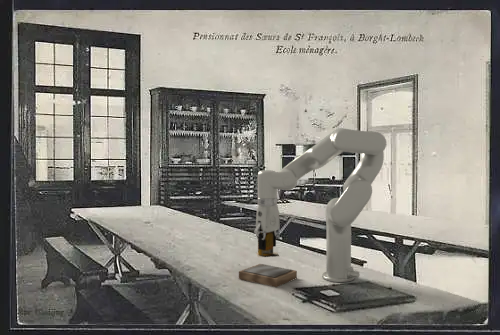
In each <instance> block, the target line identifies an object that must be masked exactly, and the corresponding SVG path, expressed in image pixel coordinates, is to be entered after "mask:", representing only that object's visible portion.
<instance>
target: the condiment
mask: <svg viewBox="0 0 500 335" xmlns="http://www.w3.org/2000/svg"><path fill="white" fill-rule="evenodd" d="M261 231H263V230H261ZM261 235H262V236H263V233H261ZM264 240H266V250H261V249H258V248H257V252H256V255H257V257H258V258H271V257H280V254H279V252H278V251H274V247H273V231H272V232H269V233H266V235H265V239H264Z"/></svg>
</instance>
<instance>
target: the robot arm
mask: <svg viewBox="0 0 500 335" xmlns="http://www.w3.org/2000/svg"><path fill="white" fill-rule="evenodd" d="M386 147H387V139H386V137H385V136H384V134H382V133H380V132H379V131H372V130H371V131H370V130H369V131H367V130H357V129H356V130H355V129H350V128H344V127H341V128H340V127H339V128H336V129H334V130H333V131H332V132H330V133H329V134H328V135H326V136H325V137H323V138H322V139H321V140H320V141H319V142H317V143H315V144H314V145H313V146H311V147H310V148H309V149H307V150H306V151H304V152H303V153H302V154H301V155H299V156H298V157H296V158H295V159H293V160H292V161H290V162H289V163H288V164H287V165H285V166H284V167H282V168H281V169H280V170H279V171H275V170H270V169H269V170H267V169H263V170H259V171H258V173H257V208H256V214H255V215H256V217H255V229H254V230H253V232H254V234H255V237H256V238H257V250H258V249H261V250H266V240H264V239H265V235H266V233H269V232H272V231H273V248H275V247H277V236H278V231H279V229H280V226H281V225H280V211H279V206H278V190H281V191H282V190H283V191H291V190H294V188H296V186H297V184H298V180H301V178H302V177H304V176H305V175H307V174H309V173H310V172H312V171H314V170H319V169H321V168H323V167H325V166H326V165H327V164H329V162H331V161H332V160H333V159H335V158H336V157H337V156H339V155H340V154H342V153H344V152H345V153H352V154H353V153H354V154H361V156H360V160H359V162H358V163H357V165H356V166H355V168H354V169H353V170H352V172H351V173H350V174H349V176H348V177H347V179H346V180H345V181H344V183H343V185H342V190H343V192H342V194H341V195H340V197H334V198H331V200H329V201H328V202H327V204H326V206H325V207H326V208H325V222H326V225H325V226H326V227H325V228H326V229H325V230H326V239H325V240H326V244H325V246H326V252H325V253H326V258H325V259H326V262H325V263H326V265H325V266H326V267H325V268H326V270H325V272H322V278H323V279H324V280H326V281H329V282H333V283H346V282H352V281H354V280H355V279H356V278H357V279H358V278H360V271H357V270H354V267H353V266H352V224H353V222H355V220H356V219H357V218H358V216H359V215H360V214H361V212H362V211H363V210H364V208H365V207H366V205H367V204H368V202H369V201H370V200H371V198H372V193H373V186H372V184H373V182H374V181H376V180H375V179H376V178H377V176H378V175H379V173H380V171H381V170H382V167H383V165H384V160H385V159H384V157H385V156H384V155H385V154H384V151H385V150H386ZM261 230H263V231H261ZM261 233H263V236H262V235H261Z"/></svg>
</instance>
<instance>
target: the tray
mask: <svg viewBox="0 0 500 335" xmlns="http://www.w3.org/2000/svg"><path fill="white" fill-rule="evenodd" d="M297 277H298V272H297V270H294V269H291V268H290V269H289V268H284V267H279V266H275V265H269V264H264V263H258V264H256V265H252V266H251V267H248V268H245V269H242V270H239V271H238V279H239V280H241V281H247V282H250V283H255V284H259V285H265V286H269V287H273V288H274V287H275V288H278V287H280V286H282V285H285V284H287V283H290V282H292V281H294V280H296V279H298V278H297ZM295 278H296V279H295ZM293 279H294V280H293ZM291 280H292V281H291ZM289 281H290V282H289Z"/></svg>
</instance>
